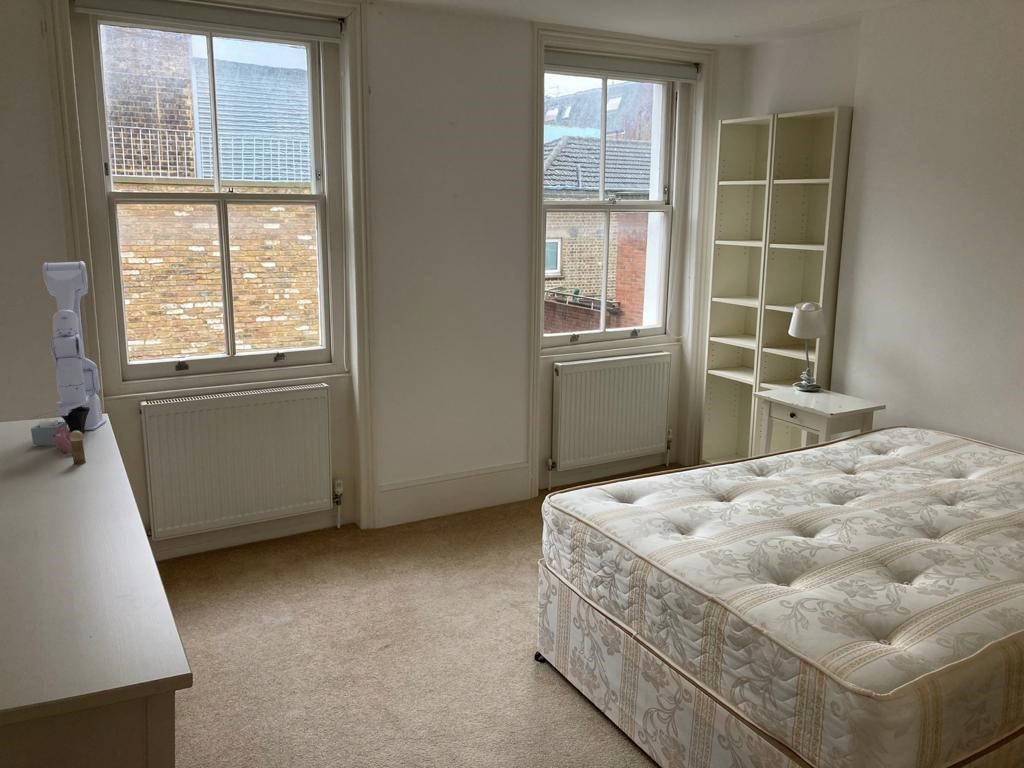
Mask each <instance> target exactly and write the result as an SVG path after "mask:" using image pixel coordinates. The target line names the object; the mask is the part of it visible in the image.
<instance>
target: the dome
mask: <svg viewBox="0 0 1024 768" xmlns="http://www.w3.org/2000/svg"><path fill="white" fill-rule="evenodd" d="M58 422H59V421H58V419H50V418H48V419H46V420H45V419H44V420H42V421H39V423H38V424H40V427H55V426H57V425H58Z"/></svg>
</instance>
